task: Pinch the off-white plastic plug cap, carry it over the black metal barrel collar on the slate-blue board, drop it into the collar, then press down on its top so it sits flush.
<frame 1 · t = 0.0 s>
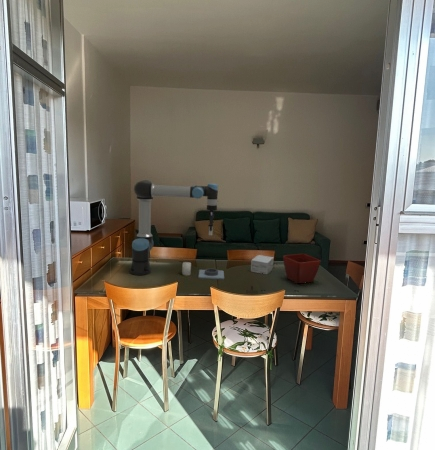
hand: (210, 233, 251), 28 cm above the table, tool pointing down, fingers open, 13 cm apart
barrel board: (211, 274, 243), on the table
plug cap: (186, 273, 243), on the table
plant pot: (299, 280, 240), on the table
supplement box: (261, 270, 260), on the table
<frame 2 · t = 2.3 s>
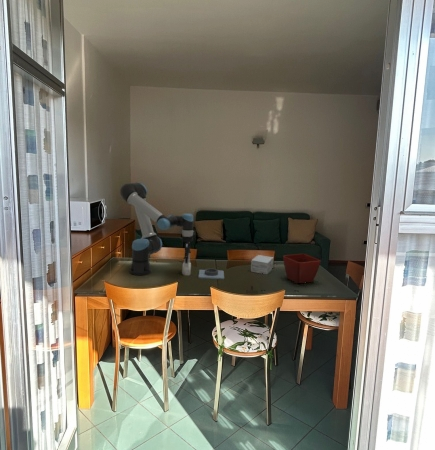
hand: (187, 264, 241), 7 cm above the table, tool pointing down, fingers open, 13 cm apart
nothing on the table moved.
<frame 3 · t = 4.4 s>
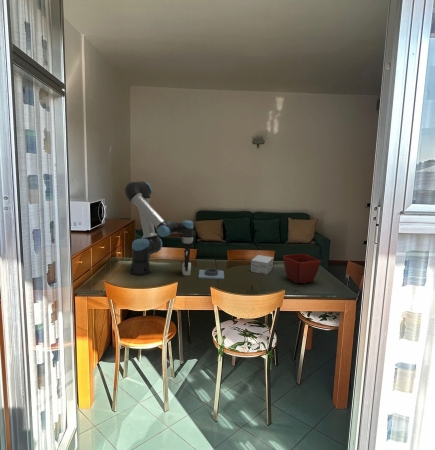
hand: (186, 273, 243), 0 cm above the table, tool pointing down, fingers closed on plug cap, 6 cm apart
plug cap: (186, 273, 243), on the table, touching gripper
everything else where it was.
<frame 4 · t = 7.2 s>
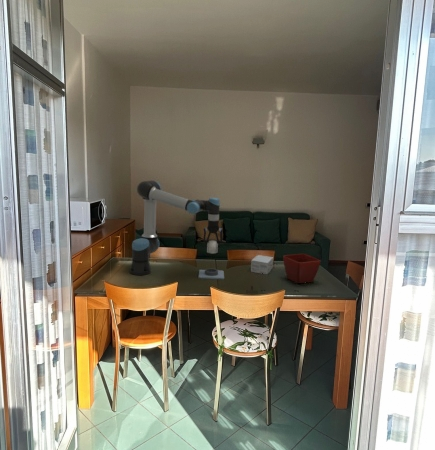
hand: (212, 252, 240), 17 cm above the table, tool pointing down, fingers closed on plug cap, 6 cm apart
plug cap: (212, 252, 240), point 17 cm above the table, touching gripper
everything else where it was.
when the fingers open (5 cm above the table, at t = 9.8 s): plug cap drops 4 cm, resting on barrel board.
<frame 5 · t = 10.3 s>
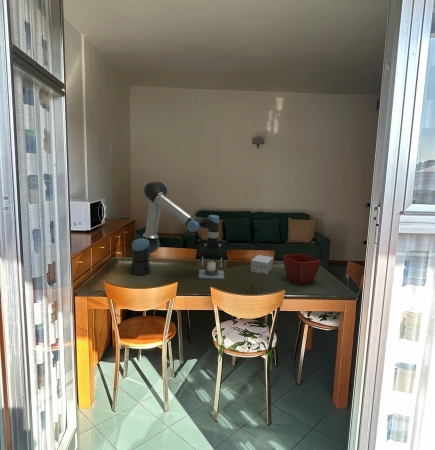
hand: (211, 266, 242), 7 cm above the table, tool pointing down, fingers open, 13 cm apart
plug cap: (211, 273, 243), point 1 cm above the table, touching barrel board
everything else where it was.
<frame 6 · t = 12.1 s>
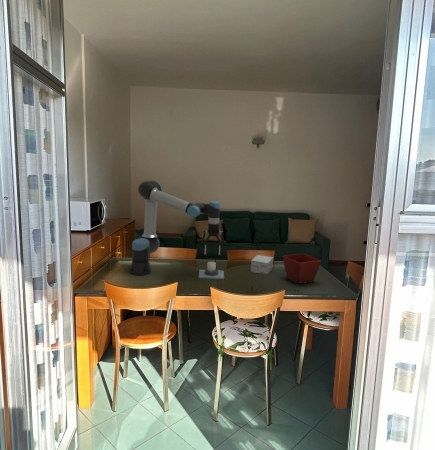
hand: (212, 254, 240), 16 cm above the table, tool pointing down, fingers open, 9 cm apart
nothing on the table moved.
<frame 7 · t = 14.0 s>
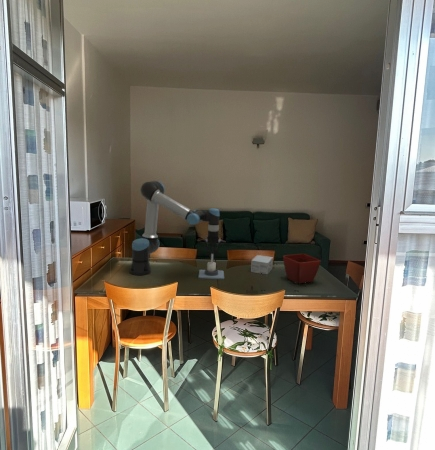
hand: (212, 262, 241), 9 cm above the table, tool pointing down, fingers closed
plug cap: (211, 273, 243), point 1 cm above the table, touching barrel board, gripper
everything else where it was.
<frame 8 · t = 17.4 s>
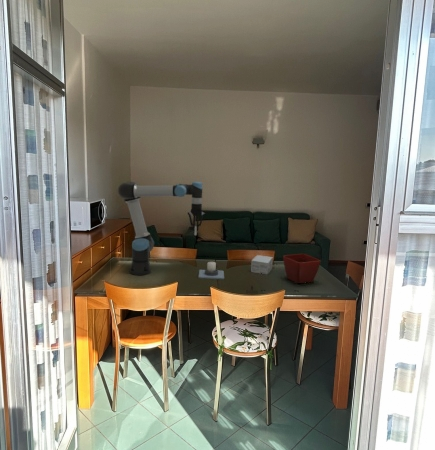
hand: (195, 234, 250), 26 cm above the table, tool pointing down, fingers closed
plug cap: (211, 273, 243), point 1 cm above the table, touching barrel board
everything else where it was.
at the end: plug cap 0.2 cm off-centre on the barrel board, point 1.0 cm above the barrel board's base; plug cap tilted 0°; the gripper is holding nothing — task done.
